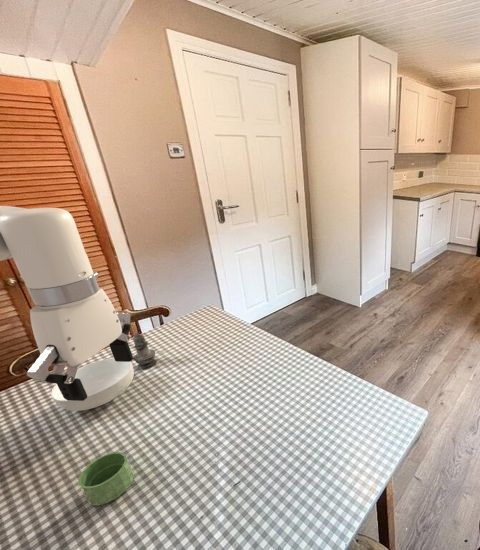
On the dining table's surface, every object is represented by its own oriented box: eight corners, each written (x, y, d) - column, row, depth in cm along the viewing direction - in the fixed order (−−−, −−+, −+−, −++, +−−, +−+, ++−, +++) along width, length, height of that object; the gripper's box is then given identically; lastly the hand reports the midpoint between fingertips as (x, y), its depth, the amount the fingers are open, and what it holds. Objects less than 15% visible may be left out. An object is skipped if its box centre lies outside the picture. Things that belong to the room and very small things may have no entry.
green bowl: (81, 513, 57) (70, 494, 55) (97, 477, 64) (88, 458, 62) (127, 498, 60) (119, 479, 58) (139, 465, 66) (131, 447, 64)
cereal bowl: (119, 369, 95) (112, 351, 92) (151, 386, 88) (144, 366, 86) (48, 407, 81) (37, 386, 78) (80, 430, 74) (69, 409, 72)
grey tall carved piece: (141, 372, 94) (130, 339, 89) (132, 366, 97) (121, 334, 92) (161, 362, 99) (151, 330, 94) (152, 356, 101) (142, 325, 97)
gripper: (92, 269, 55) (121, 348, 61) (-27, 317, 39) (29, 417, 45) (132, 270, 55) (157, 349, 61) (28, 318, 39) (77, 419, 45)
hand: (103, 378), depth 53 cm, fingers open, 9 cm apart
